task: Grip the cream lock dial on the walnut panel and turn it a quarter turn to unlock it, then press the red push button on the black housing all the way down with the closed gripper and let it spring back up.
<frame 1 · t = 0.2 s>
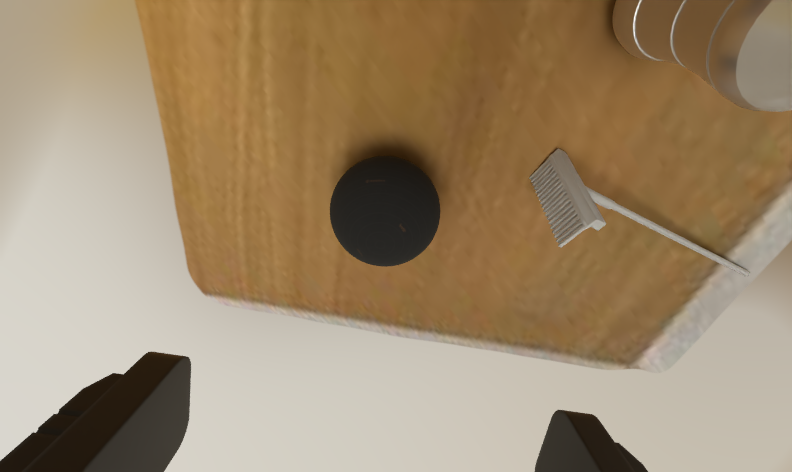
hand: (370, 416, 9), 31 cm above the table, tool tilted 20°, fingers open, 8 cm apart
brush: (644, 217, 41), on the table
speaker: (389, 184, 40), on the table
plastic bottle: (647, 3, 30), on the table
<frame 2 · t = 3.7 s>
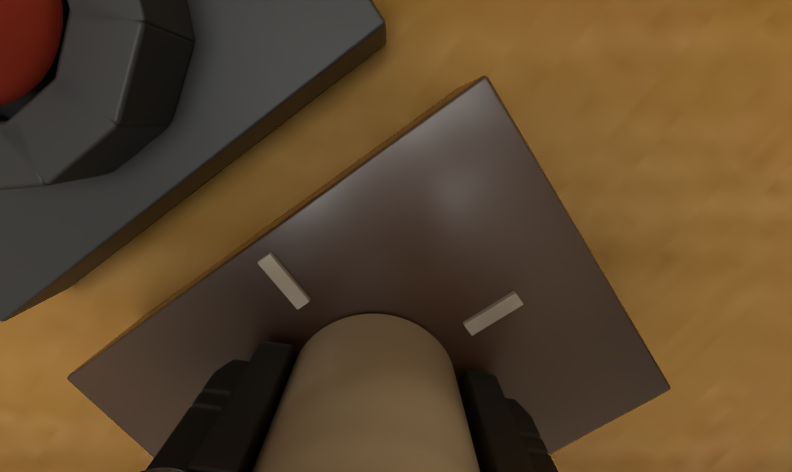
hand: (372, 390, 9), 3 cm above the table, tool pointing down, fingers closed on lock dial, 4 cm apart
dial panel: (377, 324, 13), on the table
button housing: (95, 32, 10), on the table
lock dial: (368, 468, 7), point 5 cm above the table, hinge at 0.1°, touching gripper
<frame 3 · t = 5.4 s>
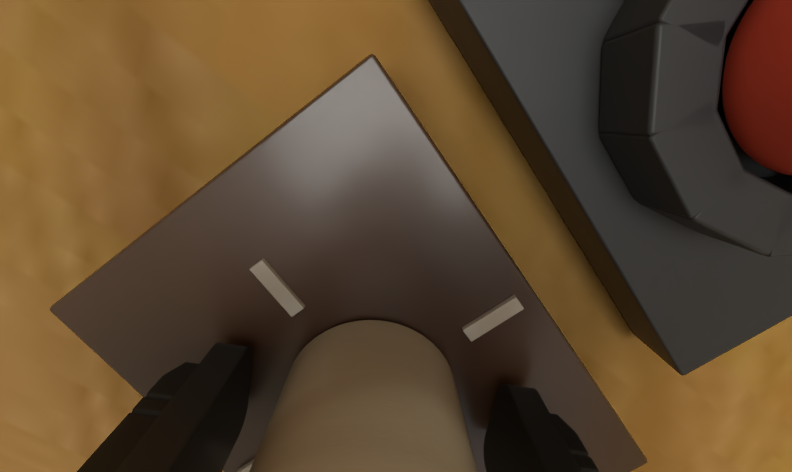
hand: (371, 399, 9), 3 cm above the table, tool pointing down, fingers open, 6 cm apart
dial panel: (375, 329, 12), on the table
button housing: (686, 82, 10), on the table
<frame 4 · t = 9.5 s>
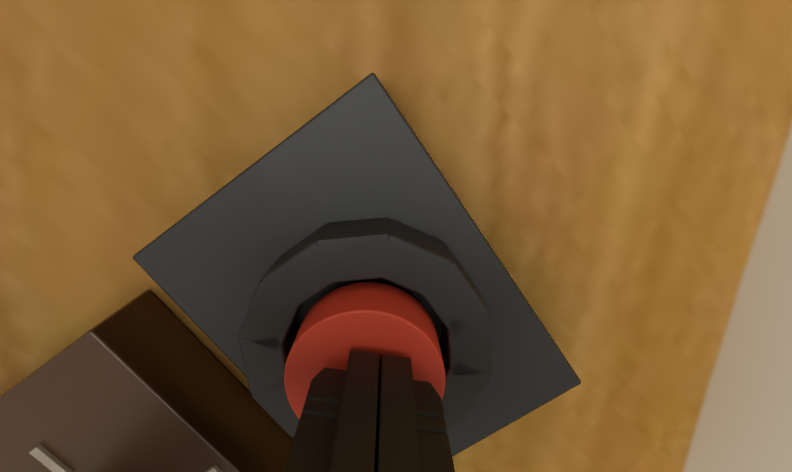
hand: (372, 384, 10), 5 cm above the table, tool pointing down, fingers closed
red push button: (366, 363, 11), point 4 cm above the table, slide at -0.1 cm, touching gripper
dial panel: (175, 453, 17), on the table
button housing: (372, 295, 15), on the table
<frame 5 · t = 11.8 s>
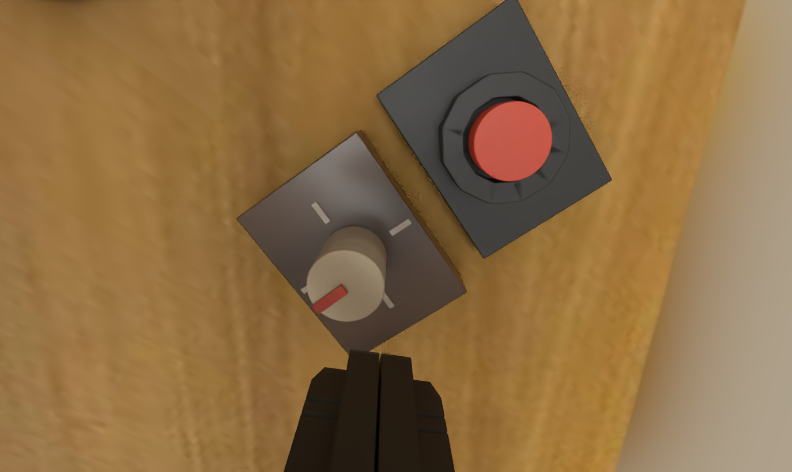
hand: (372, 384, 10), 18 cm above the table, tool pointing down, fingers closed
red push button: (508, 141, 21), point 4 cm above the table, slide at 0.1 cm
dial panel: (359, 241, 27), on the table
button housing: (489, 137, 25), on the table
lock dial: (350, 271, 22), point 5 cm above the table, hinge at 92.5°
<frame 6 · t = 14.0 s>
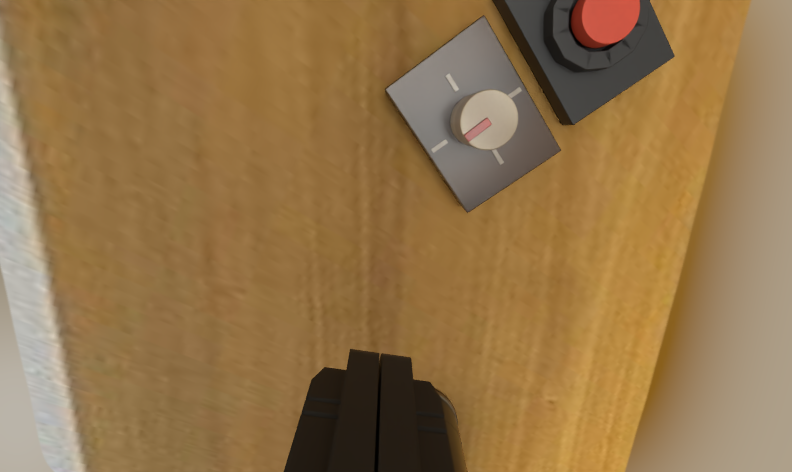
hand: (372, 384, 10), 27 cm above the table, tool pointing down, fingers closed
red push button: (604, 15, 28), point 4 cm above the table, slide at 0.1 cm
dial panel: (468, 120, 34), on the table
button housing: (575, 29, 32), on the table
lock dial: (482, 120, 29), point 5 cm above the table, hinge at 92.5°
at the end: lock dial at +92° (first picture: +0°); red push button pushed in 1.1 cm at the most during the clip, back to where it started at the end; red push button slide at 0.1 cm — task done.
